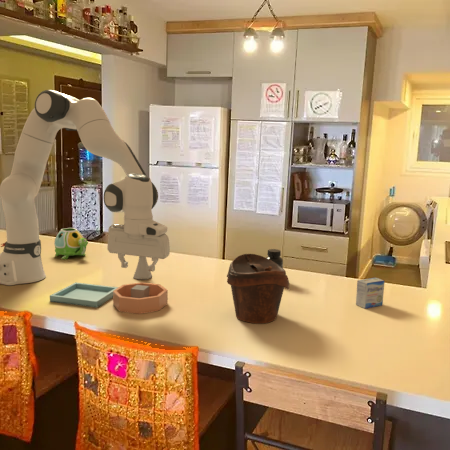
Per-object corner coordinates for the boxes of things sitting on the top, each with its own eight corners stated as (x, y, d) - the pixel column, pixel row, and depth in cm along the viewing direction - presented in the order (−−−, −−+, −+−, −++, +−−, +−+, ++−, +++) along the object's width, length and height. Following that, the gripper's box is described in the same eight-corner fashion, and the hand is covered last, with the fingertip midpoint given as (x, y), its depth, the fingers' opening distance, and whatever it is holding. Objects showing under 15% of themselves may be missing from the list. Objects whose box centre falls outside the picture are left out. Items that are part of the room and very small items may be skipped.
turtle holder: (73, 263, 207) (72, 235, 204) (48, 255, 218) (47, 229, 215) (97, 257, 216) (97, 230, 214) (73, 250, 227) (72, 225, 225)
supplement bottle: (274, 285, 183) (276, 253, 181) (260, 281, 187) (261, 250, 185) (285, 281, 188) (287, 250, 186) (271, 277, 192) (272, 247, 190)
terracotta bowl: (105, 309, 155) (105, 295, 154) (129, 293, 170) (129, 280, 169) (153, 315, 151) (153, 301, 150) (172, 299, 166) (172, 285, 165)
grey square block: (131, 303, 159) (130, 288, 158) (137, 299, 163) (136, 284, 162) (143, 305, 158) (143, 290, 157) (149, 300, 162) (149, 286, 161)
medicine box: (364, 309, 160) (366, 283, 159) (355, 304, 164) (357, 279, 163) (382, 305, 164) (385, 280, 162) (373, 301, 168) (375, 276, 166)
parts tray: (49, 301, 161) (49, 295, 161) (75, 287, 175) (75, 282, 175) (96, 307, 156) (96, 301, 156) (119, 293, 171) (119, 287, 170)
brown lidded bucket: (273, 333, 139) (275, 271, 136) (213, 318, 150) (214, 260, 147) (298, 315, 154) (301, 259, 151) (243, 302, 165) (244, 250, 162)
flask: (148, 281, 185) (148, 254, 183) (130, 279, 186) (129, 253, 185) (155, 275, 192) (154, 250, 190) (137, 274, 193) (137, 249, 191)
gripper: (103, 225, 155) (103, 267, 158) (164, 231, 149) (163, 275, 152) (113, 221, 161) (113, 263, 164) (172, 227, 155) (171, 270, 158)
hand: (138, 269), depth 158 cm, fingers open, 8 cm apart
